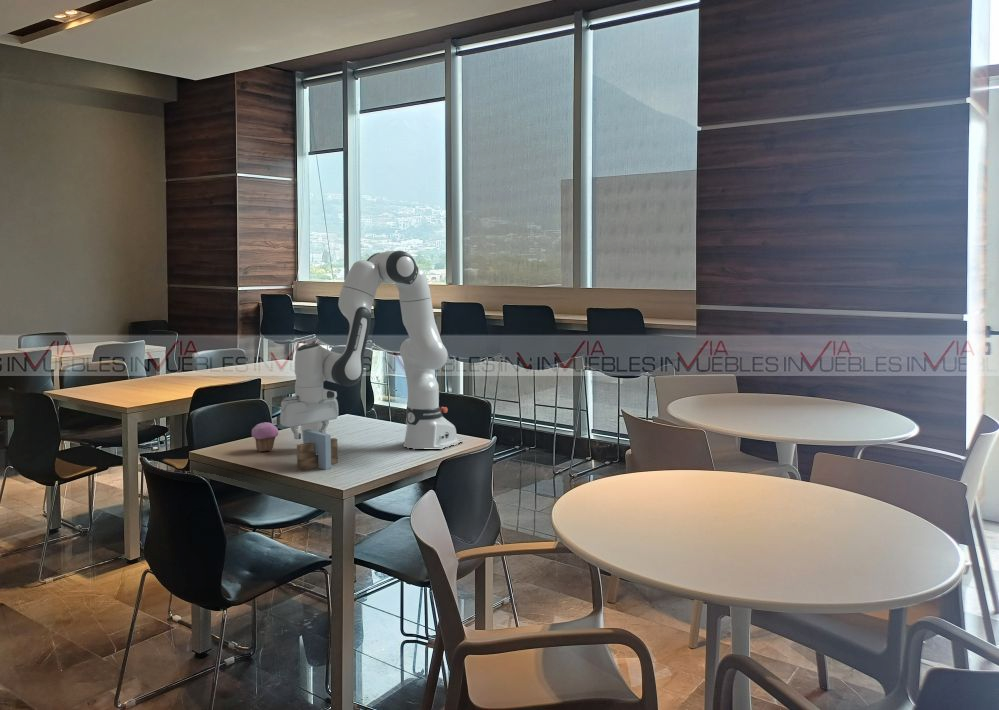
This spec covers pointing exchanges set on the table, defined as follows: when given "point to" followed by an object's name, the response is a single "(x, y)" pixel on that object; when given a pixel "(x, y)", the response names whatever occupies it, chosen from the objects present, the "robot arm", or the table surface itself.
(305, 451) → the notched wood cradle
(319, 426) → the foam cup
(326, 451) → the pale blue arch brick
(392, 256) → the robot arm
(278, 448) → the table surface
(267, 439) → the cupcake
